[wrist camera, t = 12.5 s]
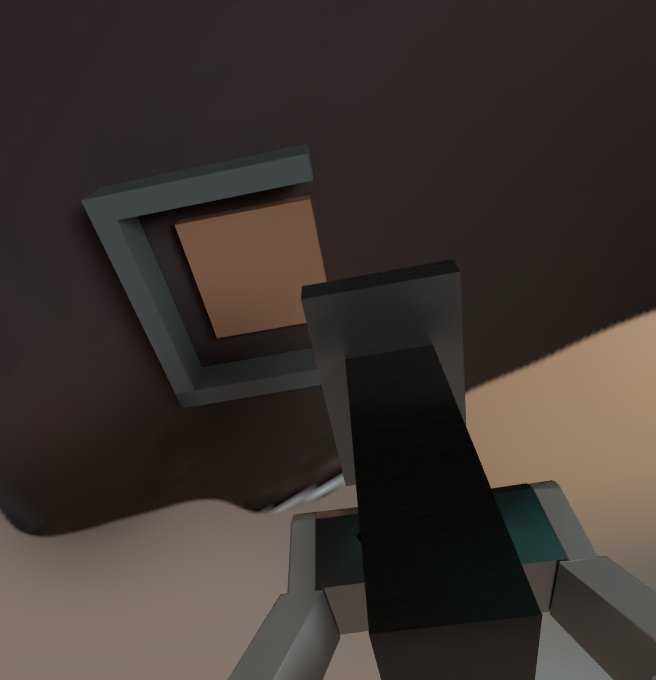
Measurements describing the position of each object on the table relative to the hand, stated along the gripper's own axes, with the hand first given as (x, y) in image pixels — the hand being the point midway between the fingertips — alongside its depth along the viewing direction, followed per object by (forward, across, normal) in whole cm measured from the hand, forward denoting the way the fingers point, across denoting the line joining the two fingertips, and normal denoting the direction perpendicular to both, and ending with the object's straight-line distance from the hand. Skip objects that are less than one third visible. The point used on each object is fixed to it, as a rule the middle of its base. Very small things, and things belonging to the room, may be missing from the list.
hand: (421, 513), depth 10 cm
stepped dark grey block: (+5, 0, 0) cm, 5 cm away
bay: (+14, +6, 0) cm, 15 cm away
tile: (+15, +5, 0) cm, 15 cm away
